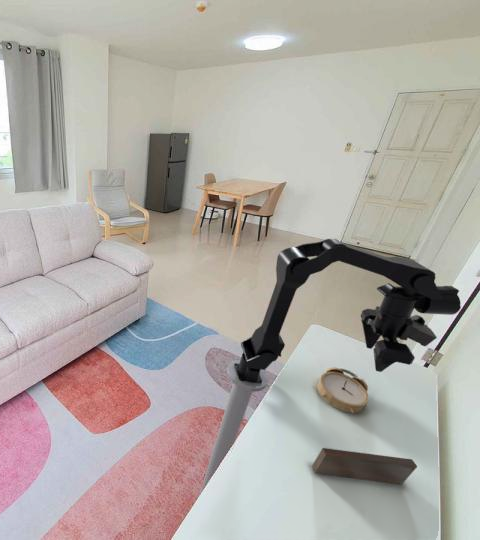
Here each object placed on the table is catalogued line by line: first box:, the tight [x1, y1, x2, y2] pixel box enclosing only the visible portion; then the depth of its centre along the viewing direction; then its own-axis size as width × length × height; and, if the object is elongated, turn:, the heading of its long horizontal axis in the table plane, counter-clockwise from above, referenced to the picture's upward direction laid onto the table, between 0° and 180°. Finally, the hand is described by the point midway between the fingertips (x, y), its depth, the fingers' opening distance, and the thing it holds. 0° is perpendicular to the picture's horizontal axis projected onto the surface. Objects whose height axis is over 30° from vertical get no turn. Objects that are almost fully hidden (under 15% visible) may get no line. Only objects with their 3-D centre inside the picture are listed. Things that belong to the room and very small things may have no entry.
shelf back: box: [311, 447, 418, 486], centre depth 63 cm, size 2×18×7 cm, turn 84°
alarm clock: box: [316, 366, 370, 414], centre depth 84 cm, size 11×5×15 cm
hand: (373, 359), depth 78 cm, fingers open, 9 cm apart
